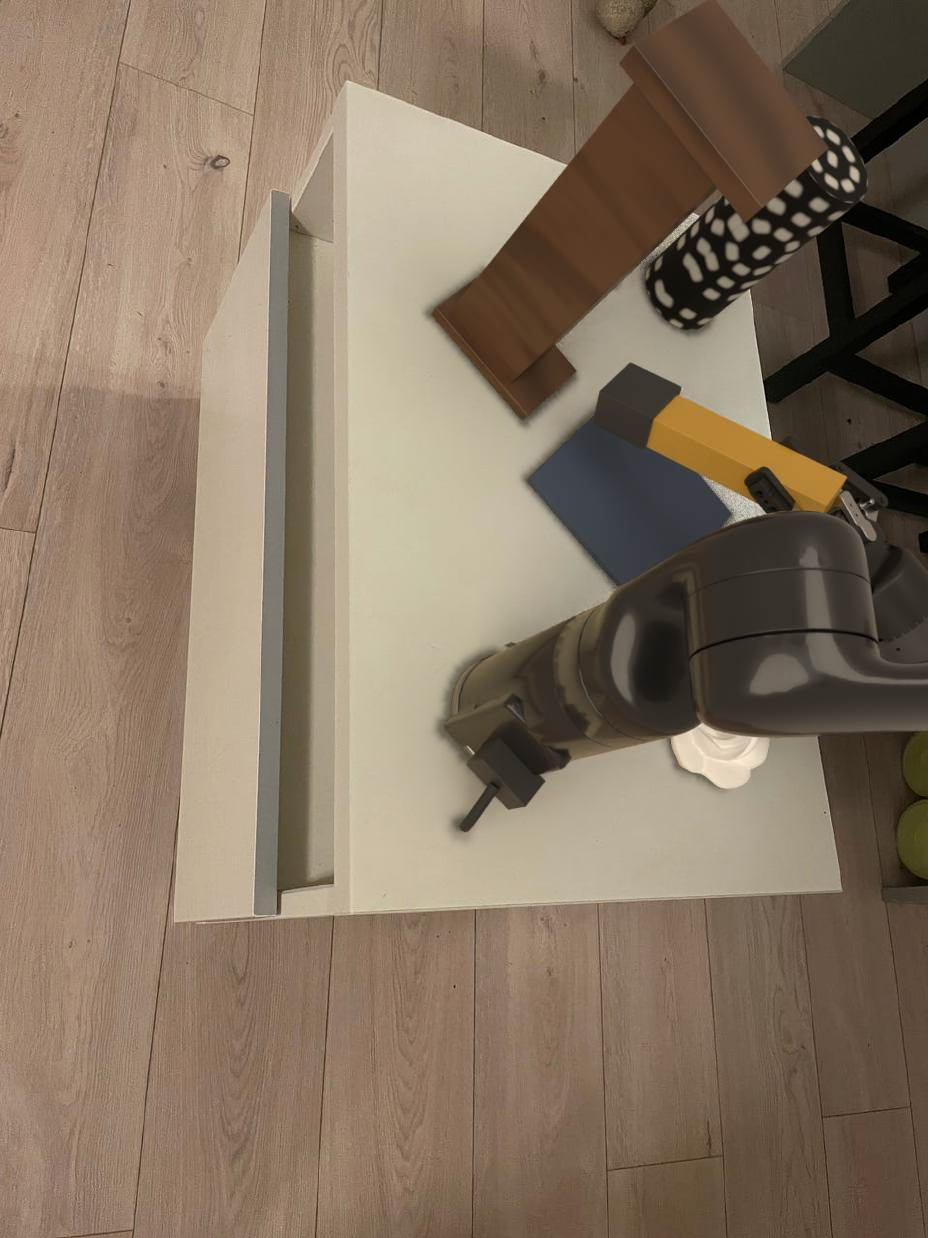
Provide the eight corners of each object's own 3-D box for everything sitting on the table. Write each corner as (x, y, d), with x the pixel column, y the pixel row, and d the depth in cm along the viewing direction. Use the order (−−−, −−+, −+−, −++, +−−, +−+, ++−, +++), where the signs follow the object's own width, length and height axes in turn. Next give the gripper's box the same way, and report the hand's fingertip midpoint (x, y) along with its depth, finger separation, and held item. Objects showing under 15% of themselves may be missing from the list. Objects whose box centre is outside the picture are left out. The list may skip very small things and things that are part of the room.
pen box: (810, 536, 72) (826, 504, 69) (592, 424, 78) (598, 391, 75) (835, 500, 74) (852, 468, 71) (622, 394, 81) (630, 361, 78)
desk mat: (645, 618, 81) (649, 616, 81) (526, 480, 79) (529, 477, 79) (728, 516, 89) (732, 513, 89) (621, 388, 87) (625, 385, 87)
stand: (515, 426, 80) (762, 207, 55) (423, 318, 79) (633, 43, 54) (577, 371, 85) (829, 147, 60) (491, 268, 84) (713, -5, 59)
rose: (801, 774, 78) (717, 794, 74) (763, 780, 82) (681, 799, 78) (770, 660, 80) (686, 672, 76) (734, 671, 84) (652, 683, 79)
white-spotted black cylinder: (706, 343, 94) (867, 219, 77) (641, 307, 91) (793, 170, 74) (712, 280, 98) (868, 148, 81) (649, 243, 95) (797, 98, 78)
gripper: (971, 551, 75) (839, 388, 73) (908, 665, 68) (760, 488, 66) (893, 579, 81) (770, 431, 79) (828, 686, 74) (691, 525, 72)
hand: (767, 458), depth 72 cm, fingers closed on pen box, 4 cm apart
